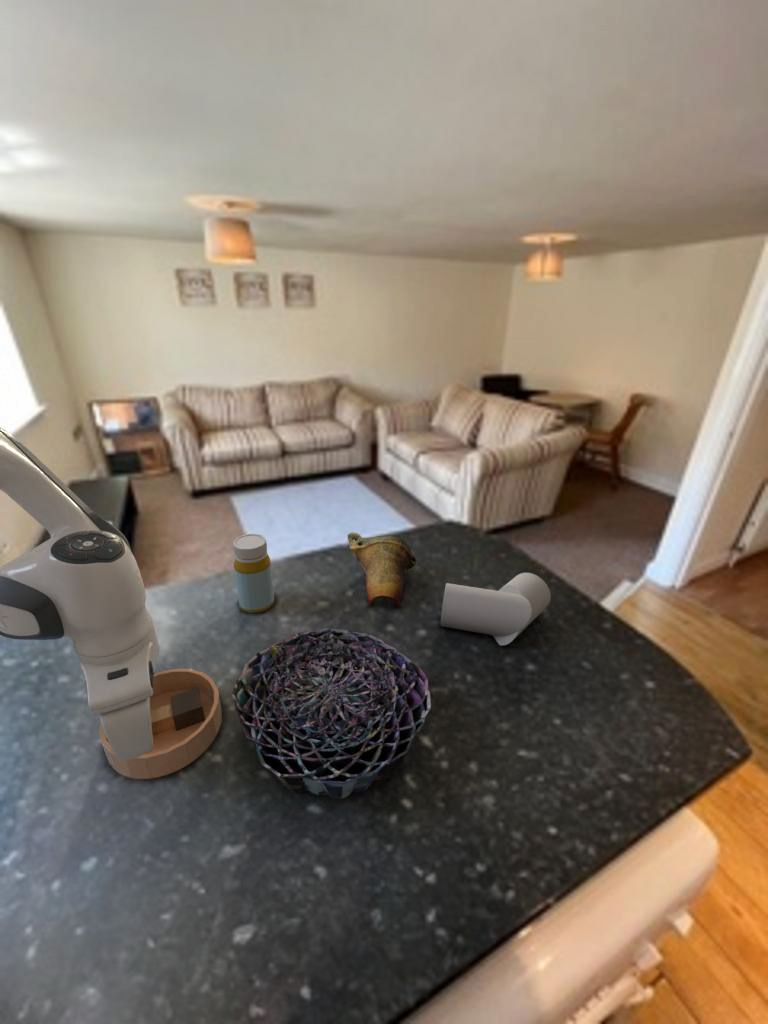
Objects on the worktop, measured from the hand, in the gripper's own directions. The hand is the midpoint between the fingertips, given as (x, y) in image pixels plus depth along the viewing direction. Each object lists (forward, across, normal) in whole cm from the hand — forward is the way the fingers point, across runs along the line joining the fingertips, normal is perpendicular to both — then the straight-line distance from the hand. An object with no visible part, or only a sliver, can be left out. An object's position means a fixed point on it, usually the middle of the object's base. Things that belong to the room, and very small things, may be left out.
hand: (142, 724), depth 64 cm
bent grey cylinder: (+2, +3, +61) cm, 62 cm away
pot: (+2, -19, +49) cm, 53 cm away
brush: (+2, 0, +2) cm, 3 cm away
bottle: (+2, -23, +22) cm, 32 cm away
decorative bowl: (+2, +12, +24) cm, 27 cm away
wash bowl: (+2, +1, +3) cm, 4 cm away
